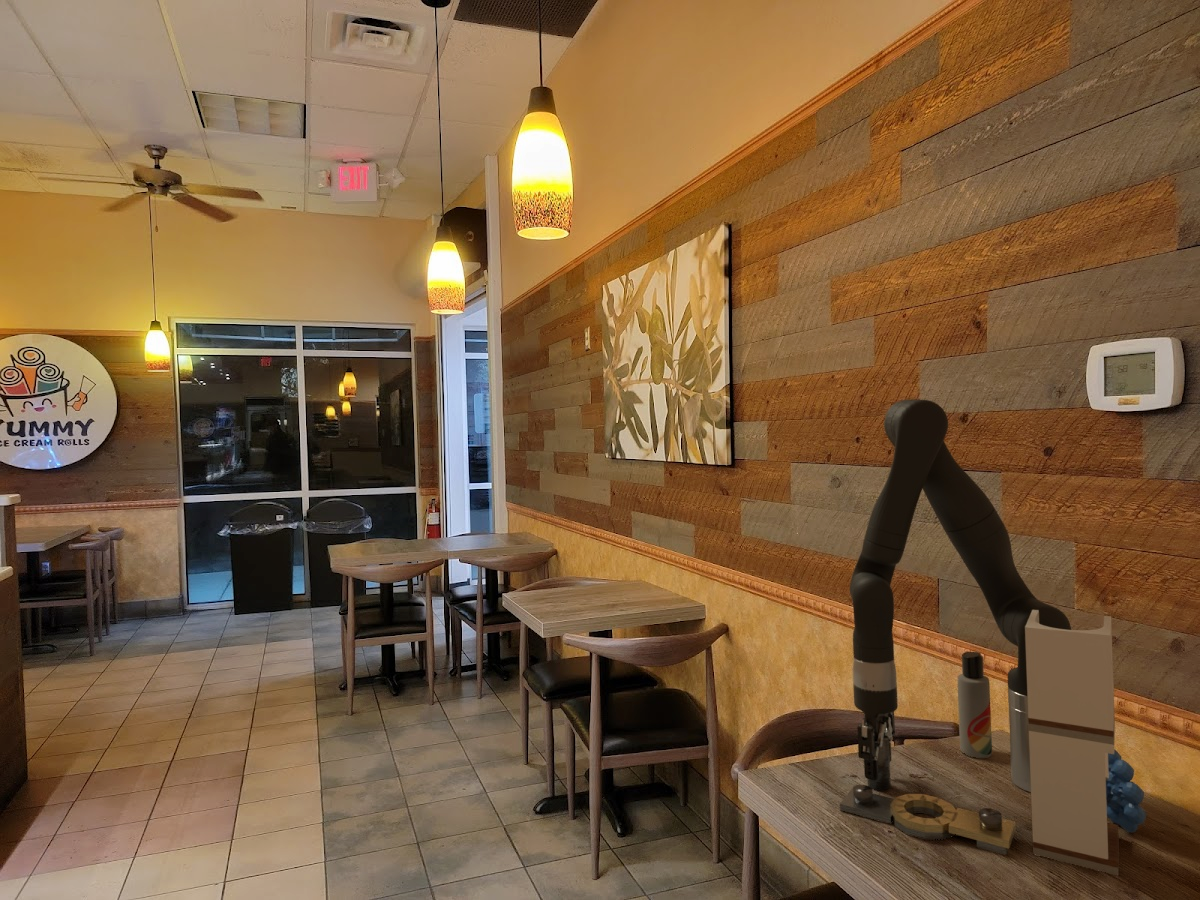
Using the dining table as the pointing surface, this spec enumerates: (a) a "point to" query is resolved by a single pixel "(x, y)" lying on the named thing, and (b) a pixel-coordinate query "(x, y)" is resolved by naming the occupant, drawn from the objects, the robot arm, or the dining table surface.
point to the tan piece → (949, 821)
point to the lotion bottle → (974, 707)
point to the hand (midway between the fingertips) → (878, 769)
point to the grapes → (1123, 795)
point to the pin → (882, 768)
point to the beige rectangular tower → (1071, 743)
